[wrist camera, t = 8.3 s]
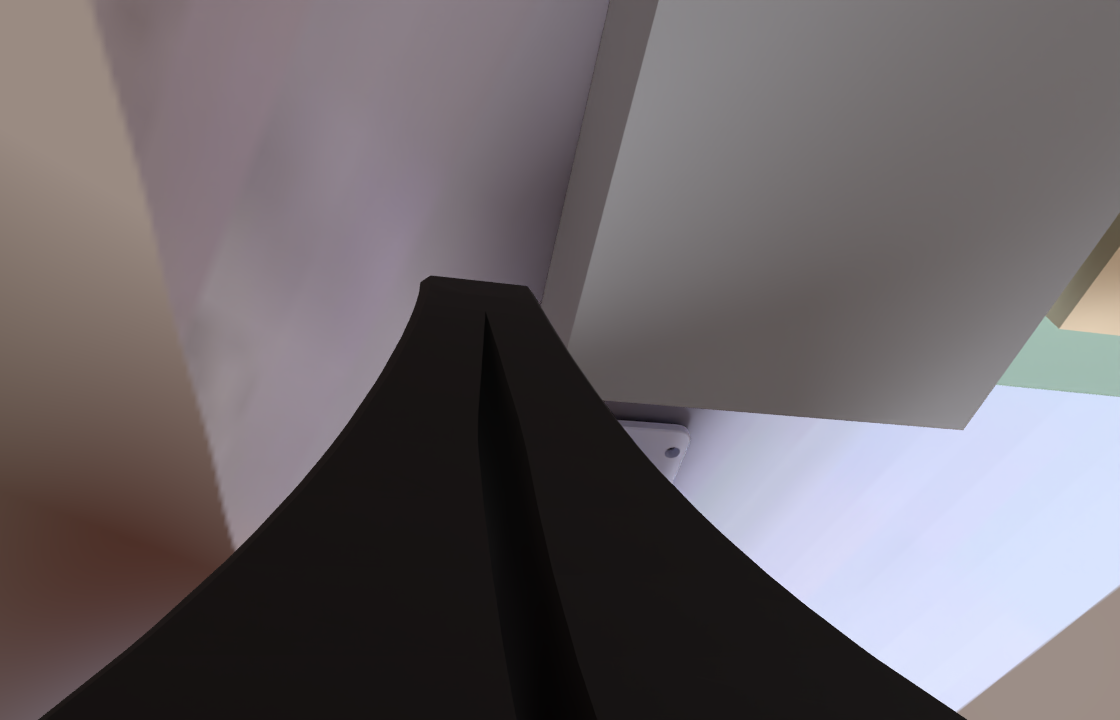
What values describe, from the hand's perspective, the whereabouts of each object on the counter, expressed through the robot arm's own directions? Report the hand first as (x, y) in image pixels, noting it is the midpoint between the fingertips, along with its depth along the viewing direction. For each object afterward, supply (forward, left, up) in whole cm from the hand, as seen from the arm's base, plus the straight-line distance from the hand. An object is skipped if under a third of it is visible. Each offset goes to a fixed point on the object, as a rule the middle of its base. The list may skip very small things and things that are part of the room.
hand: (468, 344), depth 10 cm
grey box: (+1, -9, -10) cm, 14 cm away
